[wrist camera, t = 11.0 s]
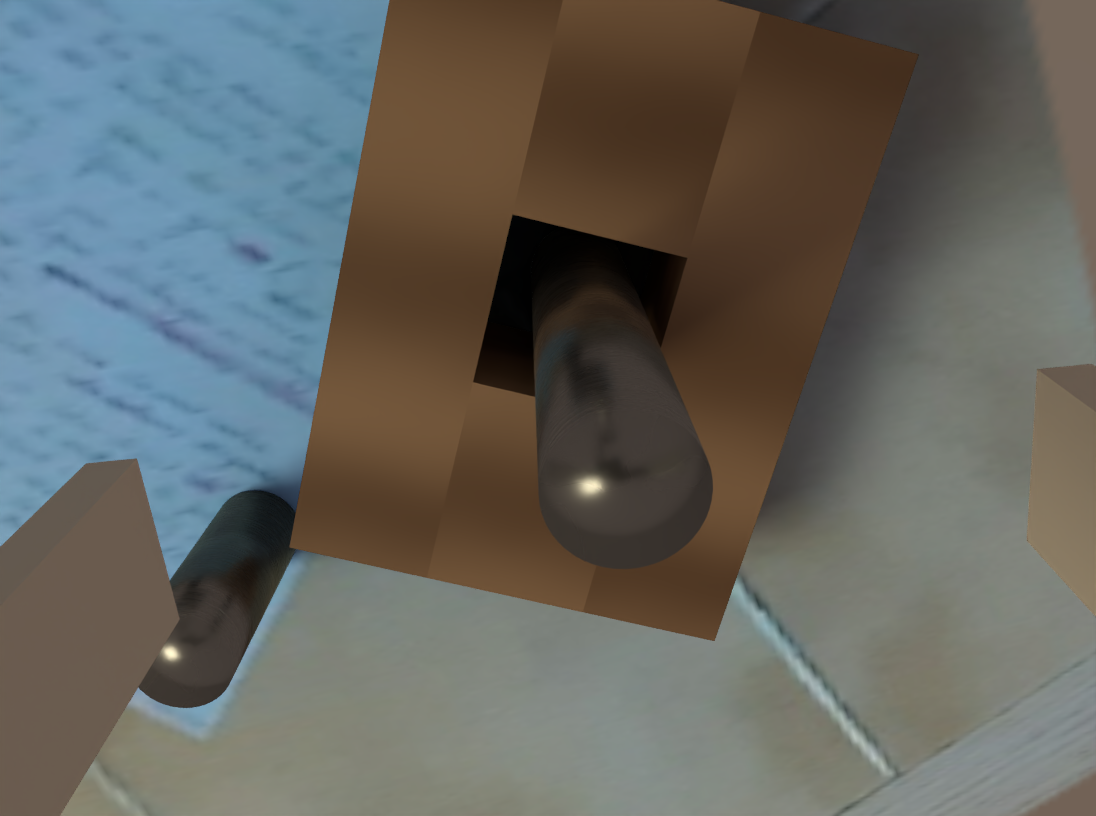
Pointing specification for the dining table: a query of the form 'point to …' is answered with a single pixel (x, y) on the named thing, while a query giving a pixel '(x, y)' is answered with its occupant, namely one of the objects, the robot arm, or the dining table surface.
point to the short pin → (222, 598)
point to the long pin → (608, 413)
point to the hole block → (600, 209)
